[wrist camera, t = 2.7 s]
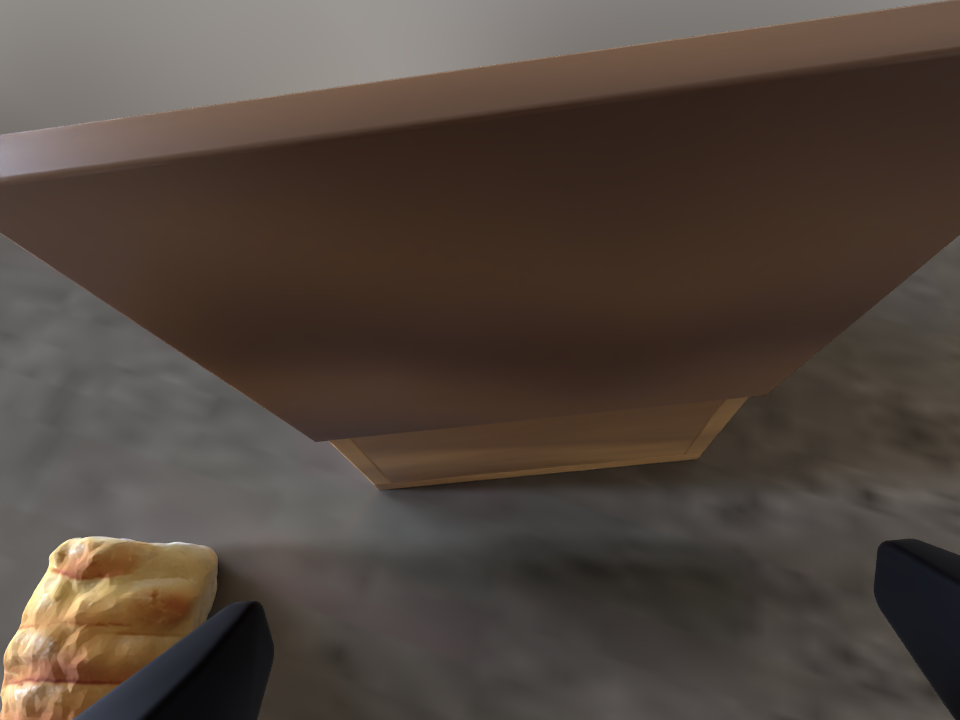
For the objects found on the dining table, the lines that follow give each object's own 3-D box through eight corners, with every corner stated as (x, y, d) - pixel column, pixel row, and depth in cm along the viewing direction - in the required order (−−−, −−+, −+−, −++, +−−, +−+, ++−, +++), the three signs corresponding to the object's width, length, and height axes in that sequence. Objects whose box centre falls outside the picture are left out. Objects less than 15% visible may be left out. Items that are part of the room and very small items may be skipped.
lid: (-46, 138, 6) (-69, 191, 6) (1181, -37, 5) (1233, 13, 5) (316, 417, 16) (314, 442, 16) (758, 370, 16) (766, 395, 15)
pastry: (166, 833, 18) (78, 878, 14) (-11, 819, 18) (-134, 857, 15) (237, 543, 22) (182, 525, 19) (92, 540, 23) (14, 523, 20)
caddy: (383, 291, 28) (340, 195, 22) (642, 261, 27) (671, 152, 21) (378, 490, 23) (320, 435, 17) (698, 459, 22) (757, 389, 16)
